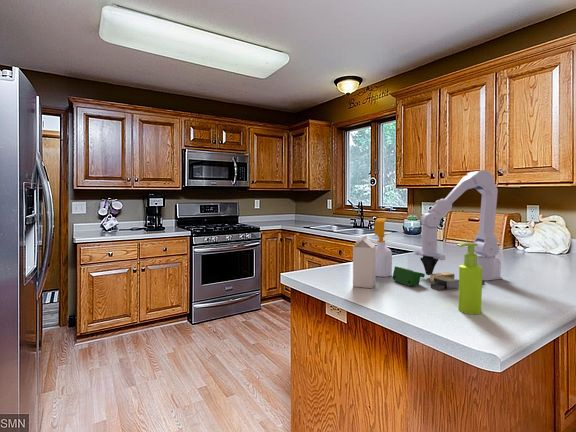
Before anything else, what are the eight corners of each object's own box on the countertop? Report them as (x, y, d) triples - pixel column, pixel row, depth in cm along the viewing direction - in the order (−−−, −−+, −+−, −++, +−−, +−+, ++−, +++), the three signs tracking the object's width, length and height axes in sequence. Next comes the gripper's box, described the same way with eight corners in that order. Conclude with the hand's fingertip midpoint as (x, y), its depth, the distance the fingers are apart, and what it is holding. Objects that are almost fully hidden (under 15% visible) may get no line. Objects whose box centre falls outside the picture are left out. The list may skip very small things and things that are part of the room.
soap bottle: (394, 273, 147) (394, 217, 145) (388, 278, 139) (388, 219, 138) (374, 271, 151) (374, 217, 150) (367, 275, 144) (367, 218, 142)
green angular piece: (417, 296, 128) (429, 277, 125) (405, 294, 126) (416, 274, 123) (401, 278, 138) (411, 259, 135) (389, 275, 136) (399, 257, 133)
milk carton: (375, 284, 129) (375, 235, 128) (371, 288, 123) (372, 237, 122) (357, 282, 132) (357, 234, 131) (352, 286, 126) (352, 236, 125)
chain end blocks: (471, 280, 134) (471, 273, 134) (485, 284, 128) (485, 276, 128) (427, 286, 125) (427, 278, 125) (440, 290, 120) (440, 282, 120)
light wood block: (447, 279, 137) (447, 272, 136) (454, 281, 133) (454, 273, 133) (430, 282, 133) (430, 274, 133) (436, 284, 130) (437, 275, 130)
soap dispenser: (451, 307, 101) (452, 242, 100) (472, 307, 102) (474, 241, 101) (462, 314, 95) (464, 244, 94) (485, 313, 96) (487, 244, 95)
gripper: (409, 240, 144) (409, 272, 145) (436, 244, 131) (435, 279, 131) (422, 239, 147) (421, 270, 147) (449, 243, 133) (448, 277, 134)
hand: (429, 274), depth 139 cm, fingers closed
